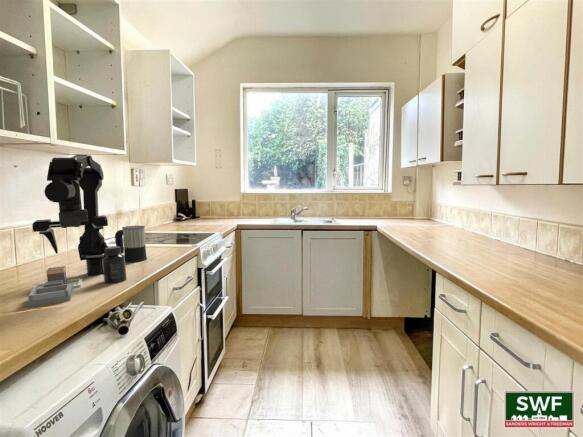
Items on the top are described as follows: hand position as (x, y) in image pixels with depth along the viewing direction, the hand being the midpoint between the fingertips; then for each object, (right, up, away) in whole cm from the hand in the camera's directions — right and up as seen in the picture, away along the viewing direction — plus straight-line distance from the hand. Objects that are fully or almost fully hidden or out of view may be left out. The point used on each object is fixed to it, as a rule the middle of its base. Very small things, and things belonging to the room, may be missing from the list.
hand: (75, 251), depth 104 cm
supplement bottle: (+6, -12, +12) cm, 18 cm away
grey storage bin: (-4, -14, -4) cm, 15 cm away
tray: (-10, -13, +6) cm, 17 cm away
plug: (-10, -12, +6) cm, 17 cm away
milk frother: (-5, -9, +42) cm, 43 cm away
